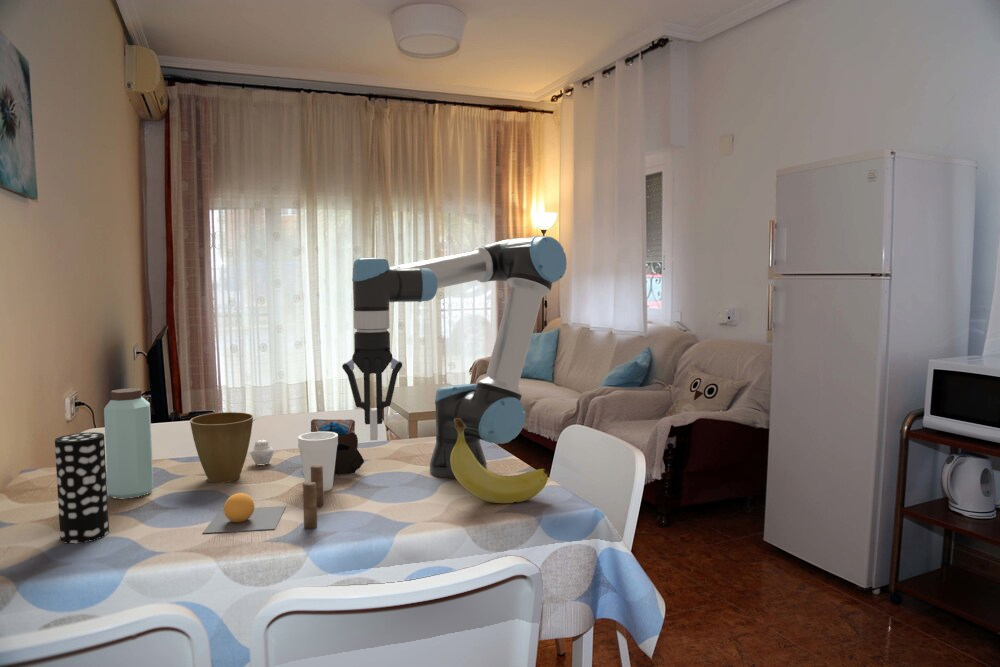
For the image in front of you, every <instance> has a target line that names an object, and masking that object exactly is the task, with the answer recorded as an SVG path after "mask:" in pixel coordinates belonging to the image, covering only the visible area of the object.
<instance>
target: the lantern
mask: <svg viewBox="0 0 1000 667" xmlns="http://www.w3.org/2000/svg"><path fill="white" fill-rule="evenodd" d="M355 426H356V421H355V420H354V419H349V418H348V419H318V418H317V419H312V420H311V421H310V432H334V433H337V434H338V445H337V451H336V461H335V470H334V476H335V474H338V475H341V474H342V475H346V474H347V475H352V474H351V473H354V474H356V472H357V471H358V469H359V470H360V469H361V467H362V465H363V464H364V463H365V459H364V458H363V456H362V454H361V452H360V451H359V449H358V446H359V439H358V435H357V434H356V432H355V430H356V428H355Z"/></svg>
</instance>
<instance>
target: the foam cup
mask: <svg viewBox="0 0 1000 667" xmlns="http://www.w3.org/2000/svg"><path fill="white" fill-rule="evenodd" d="M297 438H298V440H297V441H298V444H297V445H298V448H299V454H300V460H301V466H302V467H301V468H302V472H303V473H302V474H303V478H304V479H303V480H304V483H307V482H311V466H314V465H322V466H323V492H327V491H329V490H332V489H334V488H333V485H334V480H335V479H334V478H335V475H334V470H335V461H336V451H337V445H338V434H337V433H334V432H311V431H310V432H307V433H305V432H304V433H302V434H300V435H298V437H297Z"/></svg>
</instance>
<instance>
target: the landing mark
mask: <svg viewBox="0 0 1000 667" xmlns="http://www.w3.org/2000/svg"><path fill="white" fill-rule="evenodd" d="M286 507H287V506H286V505H282V506H279V505H277V506H262V507H261V506H259V507H254V512H253V514H252V515H251V517H250V518H249V519H247V520H246V521H244V522H240V523H236V522H232V521H230V520H229V519H228V518H227V517H226V516H225V513H224V508H223V509H219V511H218V512H217V513H216V514H215V516H214V517H213V518H212V520H211V521H210V523H209V524H208V525H207V526H206V527H205V529H204V530H203V531H202V534H203V533H210V534H218V533H217V532H226V533H238V532H239V531H241V533H242V531H243V532H255V531H257V532H258V531H274V530H276V528H277V526H278V524H279V522H280V520H281V518H282V517H283V516H282V515H283V514H284V512H285V510H286ZM236 531H238V532H236ZM215 532H216V533H215ZM239 533H240V532H239ZM203 535H204V534H203Z"/></svg>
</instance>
